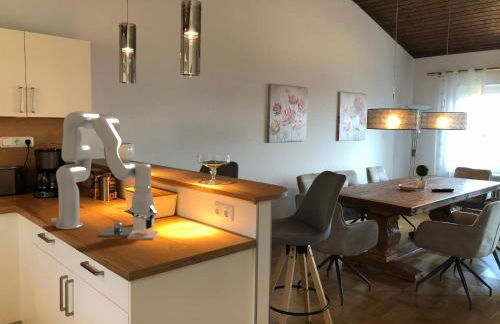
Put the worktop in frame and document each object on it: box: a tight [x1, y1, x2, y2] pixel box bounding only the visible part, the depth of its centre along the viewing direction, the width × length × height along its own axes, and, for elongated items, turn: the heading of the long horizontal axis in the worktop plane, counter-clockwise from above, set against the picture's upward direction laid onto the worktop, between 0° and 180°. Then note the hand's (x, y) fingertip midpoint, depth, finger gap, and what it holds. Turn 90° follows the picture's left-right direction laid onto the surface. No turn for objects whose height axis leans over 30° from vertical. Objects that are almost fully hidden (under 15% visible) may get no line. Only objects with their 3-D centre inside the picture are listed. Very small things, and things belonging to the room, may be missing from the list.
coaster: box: [126, 230, 158, 241], centre depth 199 cm, size 12×12×1 cm
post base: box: [98, 221, 136, 238], centre depth 203 cm, size 14×14×5 cm
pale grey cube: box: [132, 215, 154, 231], centre depth 199 cm, size 6×6×6 cm
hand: (143, 226), depth 199 cm, fingers closed on pale grey cube, 6 cm apart
